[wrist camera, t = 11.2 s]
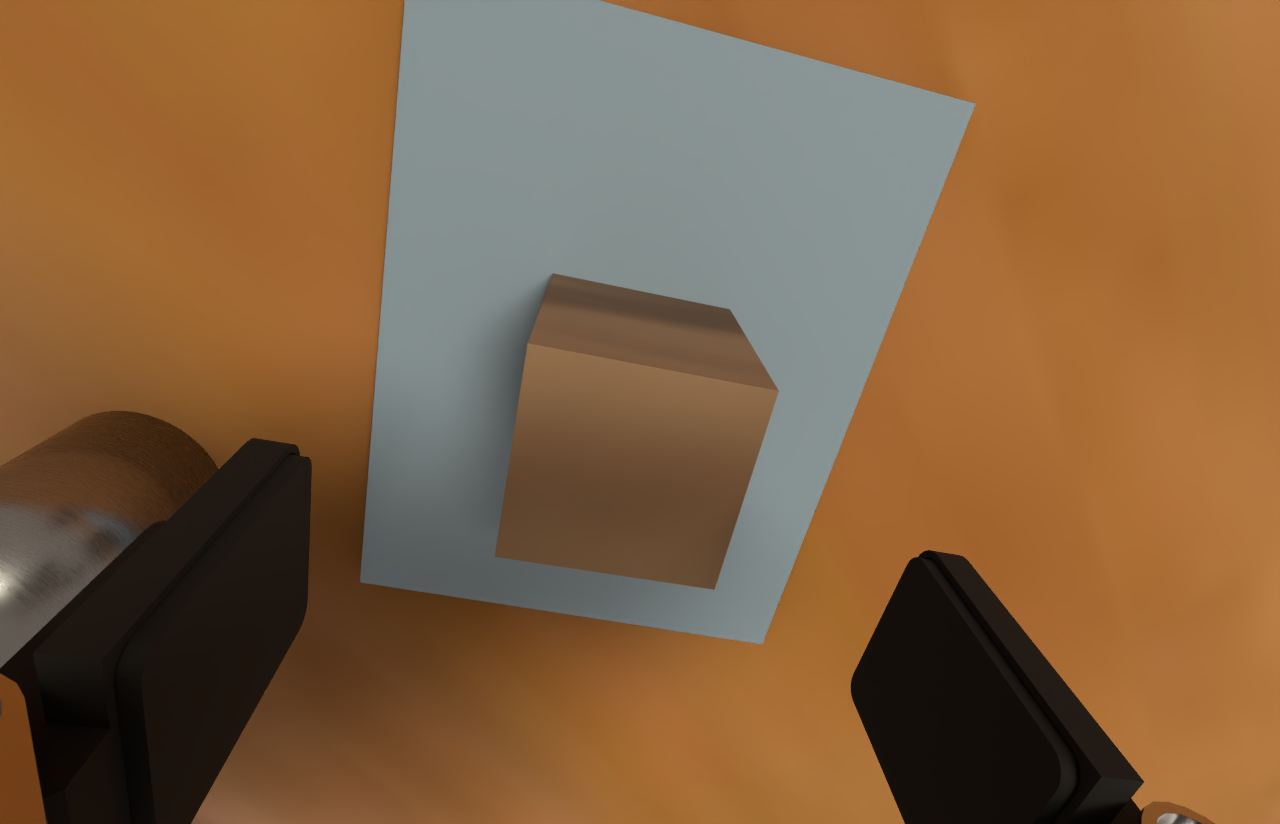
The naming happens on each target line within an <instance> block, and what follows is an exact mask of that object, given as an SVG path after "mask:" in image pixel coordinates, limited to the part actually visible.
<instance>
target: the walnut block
mask: <svg viewBox="0 0 1280 824" xmlns="http://www.w3.org/2000/svg"><path fill="white" fill-rule="evenodd" d="M778 392H779V390H778V389H777V387H776V385H775V384H774V382H773V380H772V379H771V377H770V375H769V374H768V372H767V370H766V369H765V367H764V365H763V364H762V362H761V360H760V359H759V357H758V355H757V354H756V352H755V350H754V349H753V347H752V345H751V344H750V342H749V340H748V339H747V337H746V335H745V334H744V332H743V330H742V329H741V327H740V325H739V324H738V322H737V320H736V319H735V317H734V315H733V314H732V312H731V310H730V309H726V308H721V307H716V306H711V305H706V304H701V303H697V302H692V301H687V300H682V299H677V298H672V297H667V296H662V295H657V294H652V293H648V292H643V291H638V290H633V289H628V288H623V287H618V286H613V285H608V284H603V283H599V282H594V281H589V280H584V279H579V278H574V277H569V276H564V275H559V274H555V273H553V275H552V277H551V280H550V283H549V286H548V288H547V291H546V294H545V297H544V299H543V302H542V305H541V308H540V311H539V313H538V316H537V319H536V322H535V324H534V327H533V330H532V333H531V335H530V338H529V341H528V344H527V351H526V357H525V364H524V370H523V377H522V383H521V390H520V396H519V402H518V409H517V415H516V422H515V428H514V435H513V441H512V448H511V454H510V460H509V467H508V473H507V480H506V486H505V493H504V499H503V506H502V512H501V518H500V525H499V531H498V538H497V544H496V551H495V557H499V558H506V559H512V560H519V561H526V562H532V563H539V564H546V565H552V566H559V567H566V568H572V569H579V570H586V571H592V572H599V573H606V574H612V575H619V576H626V577H632V578H639V579H646V580H652V581H659V582H665V583H672V584H679V585H685V586H692V587H699V588H705V589H712V590H715V587H716V584H717V581H718V578H719V575H720V571H721V568H722V565H723V562H724V559H725V556H726V553H727V550H728V547H729V544H730V541H731V538H732V534H733V531H734V528H735V525H736V522H737V519H738V516H739V513H740V510H741V507H742V504H743V500H744V497H745V494H746V491H747V488H748V485H749V482H750V479H751V476H752V473H753V470H754V467H755V463H756V460H757V457H758V454H759V451H760V448H761V445H762V442H763V439H764V436H765V433H766V429H767V426H768V423H769V420H770V417H771V414H772V411H773V408H774V405H775V402H776V399H777V396H778Z"/></svg>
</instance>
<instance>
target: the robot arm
mask: <svg viewBox="0 0 1280 824" xmlns="http://www.w3.org/2000/svg"><path fill="white" fill-rule="evenodd" d="M311 473H312V465H311V460H310V458H309V457H303V456H300V452H299V449H298V447H297V446H296V445H293V444H287V443H281V442H275V441H269V440H263V439H257V438H252V439H250V440H249V441H247V442H246V443H245V444H244V445H243V446H242V447H241V448H240V449H239V450H238V451H237V452H236V453H235V454H234V455H233V456H232V457H231V458H230V459H229V460H228V461H227V462H226V463H225V464H224V465H223V466H222V467H221V468H220V469H219V470H218V471H217V472H216V473H215V474H214V475H213V476H212V477H211V478H210V479H209V480H208V481H207V482H206V483H205V484H204V485H203V486H202V487H201V488H200V489H199V490H198V491H197V492H196V493H195V494H194V495H193V496H192V497H191V498H190V499H188V500H187V501H186V502H185V503H184V504H183V505H182V506H181V507H180V508H179V509H178V510H177V511H176V512H175V513H174V514H173V515H172V516H171V517H170V518H169V519H168V520H167V521H165V520H163V521H159V522H155V523H153V524H152V525H151V526H149V527H148V528H147V529H145V530H144V531H143V532H142V533H141V534H140V535H139V536H138V537H137V538H136V539H135V540H134V541H133V542H132V543H131V544H130V545H129V546H127V547H126V548H125V549H124V550H123V551H122V552H121V553H120V554H119V555H118V556H117V557H116V558H115V559H114V560H113V561H112V562H111V563H110V564H109V565H108V566H107V567H105V568H104V569H103V570H102V571H101V572H100V573H99V574H98V575H97V576H96V577H95V578H94V579H93V580H92V581H91V582H90V583H89V584H88V585H87V586H86V587H85V588H84V589H82V590H81V591H80V592H79V593H78V594H77V595H76V596H75V597H74V598H73V599H72V600H71V601H70V602H69V603H68V604H67V605H66V606H65V607H64V608H63V609H62V610H61V611H59V612H58V613H57V614H56V615H55V616H54V617H53V618H52V619H51V620H50V621H49V622H48V623H47V624H46V625H45V626H44V627H43V628H42V629H41V630H40V631H39V632H38V633H36V634H35V635H34V636H33V637H32V638H31V639H30V640H29V641H28V642H27V643H26V644H25V645H24V646H23V647H22V648H21V649H20V650H19V651H18V652H17V653H16V654H15V655H13V656H12V657H11V658H10V659H9V660H8V661H7V662H6V663H5V664H4V665H3V666H2V667H1V668H0V824H191V822H192V821H193V819H194V817H195V815H196V813H197V812H198V810H199V808H200V806H201V804H202V803H203V801H204V799H205V797H206V796H207V794H208V792H209V790H210V788H211V787H212V785H213V783H214V781H215V779H216V778H217V776H218V774H219V772H220V771H221V769H222V767H223V765H224V763H225V762H226V760H227V758H228V756H229V754H230V753H231V751H232V749H233V747H234V746H235V744H236V742H237V740H238V738H239V737H240V735H241V733H242V731H243V729H244V728H245V726H246V724H247V722H248V721H249V719H250V717H251V715H252V713H253V712H254V710H255V708H256V706H257V704H258V703H259V701H260V699H261V697H262V696H263V694H264V692H265V690H266V688H267V687H268V685H269V683H270V681H271V679H272V678H273V676H274V674H275V672H276V671H277V669H278V667H279V665H280V663H281V662H282V660H283V658H284V656H285V654H286V653H287V651H288V649H289V647H290V646H291V644H292V642H293V640H294V638H295V637H296V635H297V633H298V631H299V629H300V627H301V625H302V623H303V620H304V617H305V613H306V608H307V599H308V567H309V536H310V504H311ZM851 695H852V699H853V702H854V704H855V706H856V709H857V711H858V713H859V716H860V718H861V720H862V723H863V725H864V728H865V730H866V732H867V735H868V737H869V739H870V742H871V744H872V747H873V749H874V751H875V754H876V756H877V758H878V761H879V763H880V765H881V768H882V770H883V773H884V775H885V777H886V780H887V782H888V784H889V787H890V789H891V792H892V794H893V796H894V799H895V801H896V803H897V806H898V808H899V811H900V813H901V815H902V818H903V820H904V822H905V824H1215V823H1213V822H1212V821H1210V820H1209V819H1207V818H1206V817H1204V816H1202V815H1200V814H1198V813H1196V812H1194V811H1192V810H1190V809H1188V808H1186V807H1183V806H1180V805H1176V804H1173V803H1170V802H1152V803H1151V804H1149V805H1147V806H1145V807H1144V808H1143V809H1142V811H1140V809H1139V808H1138V807H1137V805H1136V804H1135V803H1134V802H1133V800H1132V799H1131V797H1132V796H1133V795H1134V794H1135V792H1136V791H1137V790H1138V789H1139V788H1140V786H1141V785H1142V784H1143V783H1144V781H1143V780H1142V779H1141V777H1140V776H1139V775H1138V774H1137V772H1136V771H1135V770H1134V768H1133V767H1132V766H1131V765H1130V763H1129V762H1128V761H1127V760H1126V758H1125V757H1124V756H1123V755H1122V753H1121V752H1120V751H1119V750H1118V748H1117V747H1116V746H1115V745H1114V743H1113V742H1112V741H1111V740H1110V738H1109V737H1108V736H1107V735H1106V733H1105V732H1104V731H1103V730H1102V728H1101V727H1100V726H1099V725H1098V723H1097V722H1096V721H1095V720H1094V718H1093V717H1092V716H1091V715H1090V713H1089V712H1088V711H1087V709H1086V708H1085V707H1084V706H1083V704H1082V703H1081V702H1080V701H1079V699H1078V698H1077V697H1076V696H1075V694H1074V693H1073V692H1072V691H1071V689H1070V688H1069V687H1068V686H1067V684H1066V683H1065V682H1064V681H1063V679H1062V678H1061V677H1060V676H1059V674H1058V673H1057V672H1056V671H1055V669H1054V668H1053V667H1052V666H1051V664H1050V663H1049V662H1048V661H1047V659H1046V658H1045V657H1044V656H1043V654H1042V653H1041V652H1040V650H1039V649H1038V648H1037V647H1036V645H1035V644H1034V643H1033V642H1032V640H1031V639H1030V638H1029V637H1028V635H1027V634H1026V633H1025V632H1024V630H1023V629H1022V628H1021V627H1020V625H1019V624H1018V623H1017V622H1016V620H1015V619H1014V618H1013V617H1012V615H1011V614H1010V613H1009V612H1008V610H1007V609H1006V608H1005V607H1004V605H1003V604H1002V603H1001V602H1000V600H999V599H998V598H997V597H996V595H995V594H994V593H993V592H992V590H991V589H990V588H989V586H988V585H987V584H986V583H985V581H984V580H983V579H982V578H981V576H980V575H979V574H978V573H977V571H976V570H975V569H974V568H973V566H972V565H971V564H970V563H969V561H968V560H967V559H965V558H964V557H963V556H959V555H954V554H948V553H942V552H936V551H930V550H928V551H924V552H923V553H921V554H920V555H919V557H916V558H913V559H911V560H910V561H909V563H908V564H907V566H906V568H905V570H904V572H903V574H902V576H901V578H900V580H899V582H898V584H897V586H896V589H895V591H894V593H893V595H892V597H891V599H890V601H889V603H888V605H887V607H886V609H885V611H884V613H883V615H882V617H881V619H880V621H879V623H878V625H877V627H876V629H875V631H874V633H873V635H872V637H871V639H870V641H869V643H868V646H867V648H866V650H865V652H864V654H863V656H862V658H861V660H860V662H859V664H858V666H857V668H856V670H855V672H854V674H853V677H852V681H851Z"/></svg>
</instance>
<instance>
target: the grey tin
mask: <svg viewBox="0 0 1280 824" xmlns="http://www.w3.org/2000/svg"><path fill="white" fill-rule="evenodd" d="M217 471H218V468H217V467H216V465H215V463H214V462H213V460H212V459H211V458H210V456H209V455H208V453H207V452H206V451H205V450H204V449H203V448H202V447H201V446H200V445H199V444H198V443H197V442H196V441H195V440H193V439H192V438H191V437H190V436H188V435H187V434H186V433H184V432H183V431H181V430H180V429H178V428H176V427H174V426H173V425H171V424H169V423H167V422H164V421H162V420H160V419H157V418H154V417H151V416H148V415H144V414H140V413H135V412H127V411H110V412H101V413H97V414H93V415H90V416H88V417H85V418H83V419H81V420H79V421H78V422H76V423H74V424H73V425H71V426H69V427H67V428H66V429H64V430H62V431H61V432H59V433H57V434H55V435H54V436H52V437H50V438H48V439H47V440H45V441H43V442H42V443H40V444H38V445H36V446H35V447H33V448H31V449H30V450H28V451H26V452H24V453H23V454H21V455H19V456H18V457H16V458H14V459H12V460H11V461H9V462H7V463H5V464H4V465H2V466H0V668H1V667H2V666H3V665H4V664H5V663H6V662H7V661H8V660H9V659H10V658H11V657H12V656H13V655H15V654H16V653H17V652H18V651H19V650H20V649H21V648H22V647H23V646H24V645H25V644H26V643H27V642H28V641H29V640H30V639H31V638H32V637H33V636H34V635H35V634H36V633H38V632H39V631H40V630H41V629H42V628H43V627H44V626H45V625H46V624H47V623H48V622H49V621H50V620H51V619H52V618H53V617H54V616H55V615H56V614H57V613H58V612H59V611H61V610H62V609H63V608H64V607H65V606H66V605H67V604H68V603H69V602H70V601H71V600H72V599H73V598H74V597H75V596H76V595H77V594H78V593H79V592H80V591H81V590H82V589H84V588H85V587H86V586H87V585H88V584H89V583H90V582H91V581H92V580H93V579H94V578H95V577H96V576H97V575H98V574H99V573H100V572H101V571H102V570H103V569H104V568H105V567H107V566H108V565H109V564H110V563H111V562H112V561H113V560H114V559H115V558H116V557H117V556H118V555H119V554H120V553H121V552H122V551H123V550H124V549H125V548H126V547H127V546H129V545H130V544H131V543H132V542H133V541H134V540H135V539H136V538H137V537H138V536H139V535H140V534H141V533H142V532H143V531H144V530H145V529H147V528H148V527H149V526H151V525H152V524H153V523H155V522H159V521H163V520H165V521H167V520H168V519H169V518H170V517H171V516H172V515H173V514H174V513H175V512H176V511H177V510H178V509H179V508H180V507H181V506H182V505H183V504H184V503H185V502H186V501H187V500H188V499H190V498H191V497H192V496H193V495H194V494H195V493H196V492H197V491H198V490H199V489H200V488H201V487H202V486H203V485H204V484H205V483H206V482H207V481H208V480H209V479H210V478H211V477H212V476H213V475H214V474H215V473H216V472H217Z"/></svg>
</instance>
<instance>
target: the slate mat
mask: <svg viewBox="0 0 1280 824" xmlns="http://www.w3.org/2000/svg"><path fill="white" fill-rule="evenodd" d="M974 107H975V103H971V102H967V101H964V100H960V99H956V98H953V97H949V96H945V95H942V94H938V93H935V92H931V91H927V90H924V89H920V88H916V87H913V86H909V85H905V84H902V83H898V82H895V81H891V80H887V79H884V78H880V77H876V76H873V75H869V74H865V73H862V72H858V71H855V70H851V69H847V68H844V67H840V66H836V65H833V64H829V63H825V62H822V61H818V60H814V59H811V58H807V57H804V56H800V55H796V54H793V53H789V52H785V51H782V50H778V49H774V48H771V47H767V46H764V45H760V44H756V43H753V42H749V41H745V40H742V39H738V38H734V37H731V36H727V35H724V34H720V33H716V32H713V31H709V30H705V29H702V28H698V27H694V26H691V25H687V24H684V23H680V22H676V21H673V20H669V19H665V18H662V17H658V16H654V15H651V14H647V13H643V12H640V11H636V10H633V9H629V8H625V7H622V6H618V5H614V4H611V3H607V2H603V1H600V0H405V4H404V17H403V30H402V43H401V56H400V69H399V82H398V95H397V108H396V121H395V134H394V147H393V160H392V173H391V186H390V199H389V211H388V224H387V237H386V250H385V263H384V276H383V289H382V302H381V315H380V328H379V341H378V354H377V367H376V380H375V393H374V406H373V418H372V431H371V444H370V457H369V470H368V483H367V496H366V509H365V522H364V535H363V548H362V561H361V574H360V582H361V583H367V584H374V585H380V586H387V587H393V588H400V589H406V590H413V591H419V592H426V593H432V594H439V595H445V596H452V597H458V598H465V599H471V600H478V601H484V602H491V603H497V604H504V605H510V606H517V607H523V608H530V609H536V610H542V611H549V612H555V613H562V614H568V615H575V616H581V617H588V618H594V619H601V620H607V621H614V622H620V623H627V624H633V625H640V626H646V627H653V628H659V629H666V630H672V631H679V632H685V633H692V634H698V635H705V636H711V637H718V638H724V639H731V640H737V641H744V642H750V643H757V644H762V643H763V641H764V638H765V636H766V633H767V631H768V628H769V626H770V623H771V621H772V618H773V616H774V613H775V611H776V608H777V605H778V603H779V600H780V598H781V595H782V593H783V590H784V588H785V585H786V583H787V580H788V578H789V575H790V573H791V570H792V567H793V565H794V562H795V560H796V557H797V555H798V552H799V550H800V547H801V545H802V542H803V540H804V537H805V535H806V532H807V530H808V527H809V524H810V522H811V519H812V517H813V514H814V512H815V509H816V507H817V504H818V502H819V499H820V497H821V494H822V492H823V489H824V486H825V484H826V481H827V479H828V476H829V474H830V471H831V469H832V466H833V464H834V461H835V459H836V456H837V454H838V451H839V449H840V446H841V443H842V441H843V438H844V436H845V433H846V431H847V428H848V426H849V423H850V421H851V418H852V416H853V413H854V411H855V408H856V405H857V403H858V400H859V398H860V395H861V393H862V390H863V388H864V385H865V383H866V380H867V378H868V375H869V373H870V370H871V368H872V365H873V362H874V360H875V357H876V355H877V352H878V350H879V347H880V345H881V342H882V340H883V337H884V335H885V332H886V330H887V327H888V324H889V322H890V319H891V317H892V314H893V312H894V309H895V307H896V304H897V302H898V299H899V297H900V294H901V292H902V289H903V287H904V284H905V281H906V279H907V276H908V274H909V271H910V269H911V266H912V264H913V261H914V259H915V256H916V254H917V251H918V249H919V246H920V243H921V241H922V238H923V236H924V233H925V231H926V228H927V226H928V223H929V221H930V218H931V216H932V213H933V211H934V208H935V206H936V203H937V200H938V198H939V195H940V193H941V190H942V188H943V185H944V183H945V180H946V178H947V175H948V173H949V170H950V168H951V165H952V162H953V160H954V157H955V155H956V152H957V150H958V147H959V145H960V142H961V140H962V137H963V135H964V132H965V130H966V127H967V124H968V122H969V119H970V117H971V114H972V112H973V109H974ZM553 273H555V274H559V275H564V276H569V277H574V278H579V279H584V280H589V281H594V282H599V283H603V284H608V285H613V286H618V287H623V288H628V289H633V290H638V291H643V292H648V293H652V294H657V295H662V296H667V297H672V298H677V299H682V300H687V301H692V302H697V303H701V304H706V305H711V306H716V307H721V308H726V309H730V310H731V312H732V314H733V315H734V317H735V319H736V320H737V322H738V324H739V325H740V327H741V329H742V330H743V332H744V334H745V335H746V337H747V339H748V340H749V342H750V344H751V345H752V347H753V349H754V350H755V352H756V354H757V355H758V357H759V359H760V360H761V362H762V364H763V365H764V367H765V369H766V370H767V372H768V374H769V375H770V377H771V379H772V380H773V382H774V384H775V385H776V387H777V389H778V390H779V392H778V396H777V399H776V402H775V405H774V408H773V411H772V414H771V417H770V420H769V423H768V426H767V429H766V433H765V436H764V439H763V442H762V445H761V448H760V451H759V454H758V457H757V460H756V463H755V467H754V470H753V473H752V476H751V479H750V482H749V485H748V488H747V491H746V494H745V497H744V500H743V504H742V507H741V510H740V513H739V516H738V519H737V522H736V525H735V528H734V531H733V534H732V538H731V541H730V544H729V547H728V550H727V553H726V556H725V559H724V562H723V565H722V568H721V571H720V575H719V578H718V581H717V584H716V587H715V590H712V589H705V588H699V587H692V586H685V585H679V584H672V583H665V582H659V581H652V580H646V579H639V578H632V577H626V576H619V575H612V574H606V573H599V572H592V571H586V570H579V569H572V568H566V567H559V566H552V565H546V564H539V563H532V562H526V561H519V560H512V559H506V558H499V557H495V551H496V544H497V538H498V531H499V525H500V518H501V512H502V506H503V499H504V493H505V486H506V480H507V473H508V467H509V460H510V454H511V448H512V441H513V435H514V428H515V422H516V415H517V409H518V402H519V396H520V390H521V383H522V377H523V370H524V364H525V357H526V351H527V344H528V341H529V338H530V335H531V333H532V330H533V327H534V324H535V322H536V319H537V316H538V313H539V311H540V308H541V305H542V302H543V299H544V297H545V294H546V291H547V288H548V286H549V283H550V280H551V277H552V275H553Z"/></svg>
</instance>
